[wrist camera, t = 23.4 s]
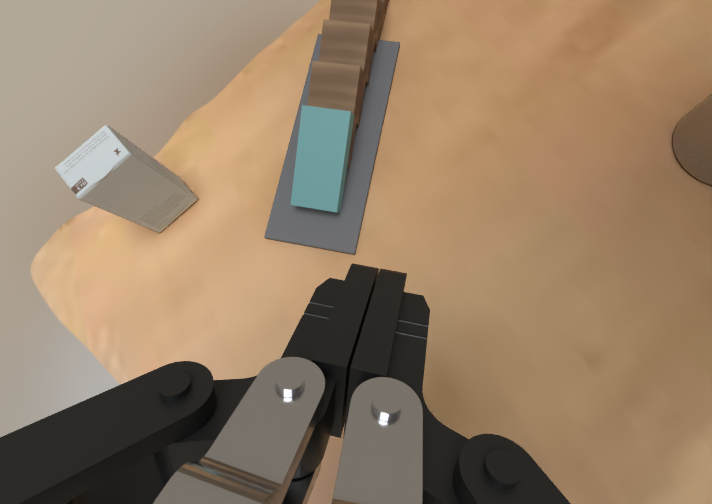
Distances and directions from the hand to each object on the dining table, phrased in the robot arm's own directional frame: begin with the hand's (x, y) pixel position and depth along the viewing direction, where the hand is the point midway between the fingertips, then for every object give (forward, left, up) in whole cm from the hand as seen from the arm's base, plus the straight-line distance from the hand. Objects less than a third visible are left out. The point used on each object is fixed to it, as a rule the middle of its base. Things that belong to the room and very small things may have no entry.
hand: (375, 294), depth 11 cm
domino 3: (-3, -19, -28) cm, 34 cm away
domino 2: (-6, -23, -28) cm, 37 cm away
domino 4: (+1, -15, -28) cm, 32 cm away
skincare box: (+15, -24, -30) cm, 42 cm away
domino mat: (-5, -22, -30) cm, 38 cm away
